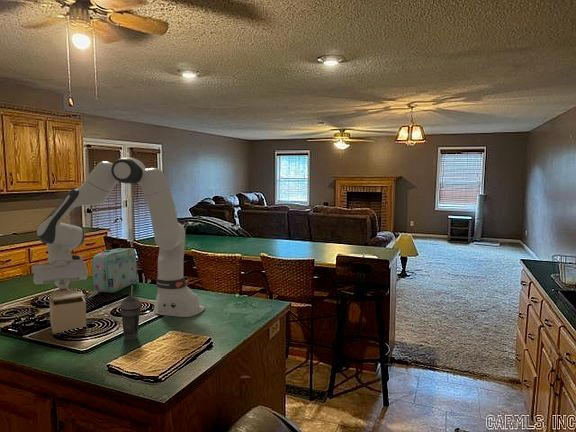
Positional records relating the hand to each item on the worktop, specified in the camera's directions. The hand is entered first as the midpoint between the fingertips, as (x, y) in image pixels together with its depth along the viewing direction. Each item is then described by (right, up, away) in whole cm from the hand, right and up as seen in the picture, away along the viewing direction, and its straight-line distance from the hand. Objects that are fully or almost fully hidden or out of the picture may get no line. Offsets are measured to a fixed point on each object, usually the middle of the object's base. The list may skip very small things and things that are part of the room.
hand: (62, 289), depth 166 cm
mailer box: (+8, -12, -11) cm, 19 cm away
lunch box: (+4, -7, +42) cm, 43 cm away
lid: (+6, -1, -9) cm, 11 cm away
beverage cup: (+36, -14, -20) cm, 44 cm away
